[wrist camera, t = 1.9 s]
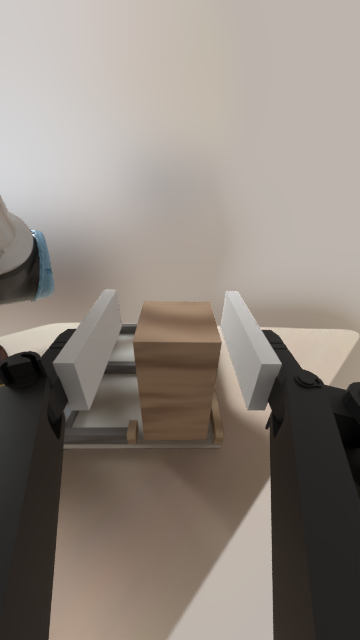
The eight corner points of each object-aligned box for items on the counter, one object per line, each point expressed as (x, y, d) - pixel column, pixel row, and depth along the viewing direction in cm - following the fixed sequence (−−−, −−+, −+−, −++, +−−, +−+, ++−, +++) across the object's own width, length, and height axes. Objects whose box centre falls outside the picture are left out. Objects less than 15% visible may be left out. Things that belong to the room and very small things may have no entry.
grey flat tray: (221, 447, 28) (224, 434, 26) (58, 448, 27) (51, 435, 26) (201, 335, 49) (202, 324, 47) (109, 334, 48) (107, 323, 47)
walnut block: (206, 440, 28) (221, 342, 19) (144, 440, 27) (132, 341, 19) (200, 390, 34) (209, 302, 26) (150, 390, 34) (143, 301, 26)
